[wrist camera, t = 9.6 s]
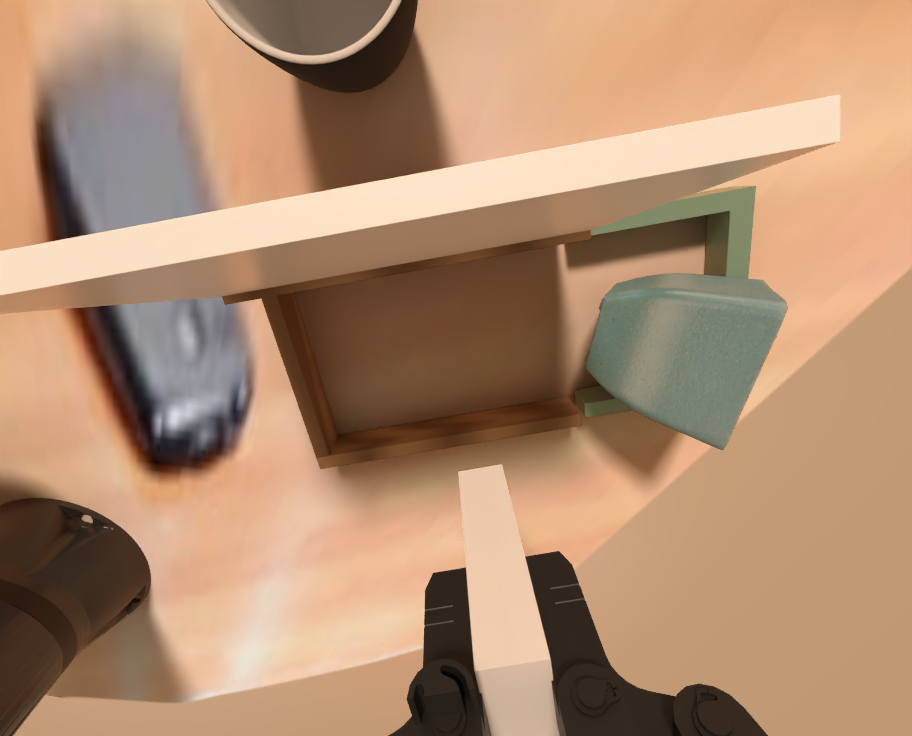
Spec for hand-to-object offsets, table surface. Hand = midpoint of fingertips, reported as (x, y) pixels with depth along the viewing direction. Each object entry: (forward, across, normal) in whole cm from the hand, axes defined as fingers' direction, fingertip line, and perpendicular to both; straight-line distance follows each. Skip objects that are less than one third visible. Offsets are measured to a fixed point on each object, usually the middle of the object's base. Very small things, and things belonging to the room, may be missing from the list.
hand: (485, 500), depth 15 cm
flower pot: (+16, +9, 0) cm, 19 cm away
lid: (+11, -2, +7) cm, 13 cm away
